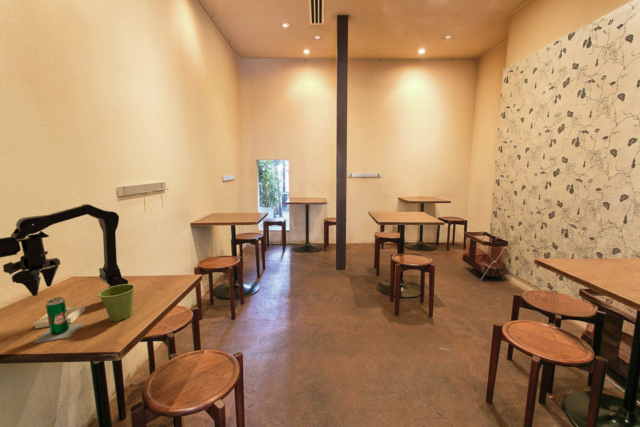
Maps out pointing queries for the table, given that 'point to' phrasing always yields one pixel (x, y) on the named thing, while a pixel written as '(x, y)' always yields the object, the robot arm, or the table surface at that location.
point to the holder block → (73, 314)
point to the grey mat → (50, 337)
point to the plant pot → (118, 301)
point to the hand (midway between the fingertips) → (42, 290)
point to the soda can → (57, 315)
